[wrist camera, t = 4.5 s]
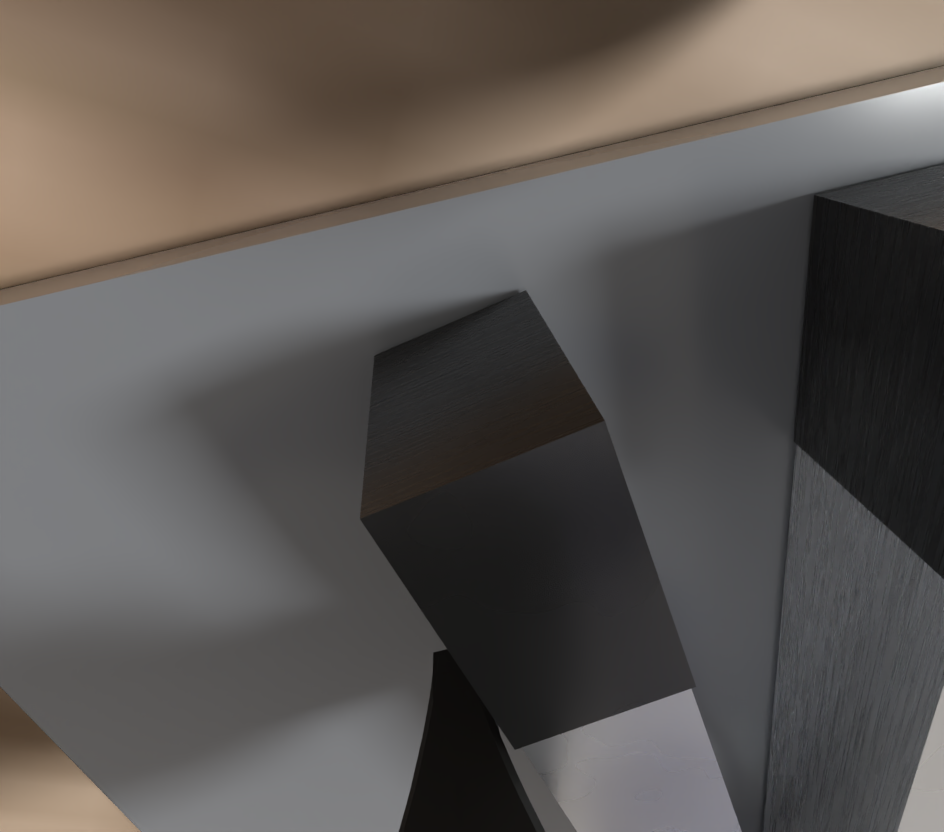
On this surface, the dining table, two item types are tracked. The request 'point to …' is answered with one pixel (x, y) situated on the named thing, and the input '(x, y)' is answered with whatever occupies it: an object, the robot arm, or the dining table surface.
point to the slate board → (344, 448)
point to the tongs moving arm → (538, 569)
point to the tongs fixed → (866, 523)
